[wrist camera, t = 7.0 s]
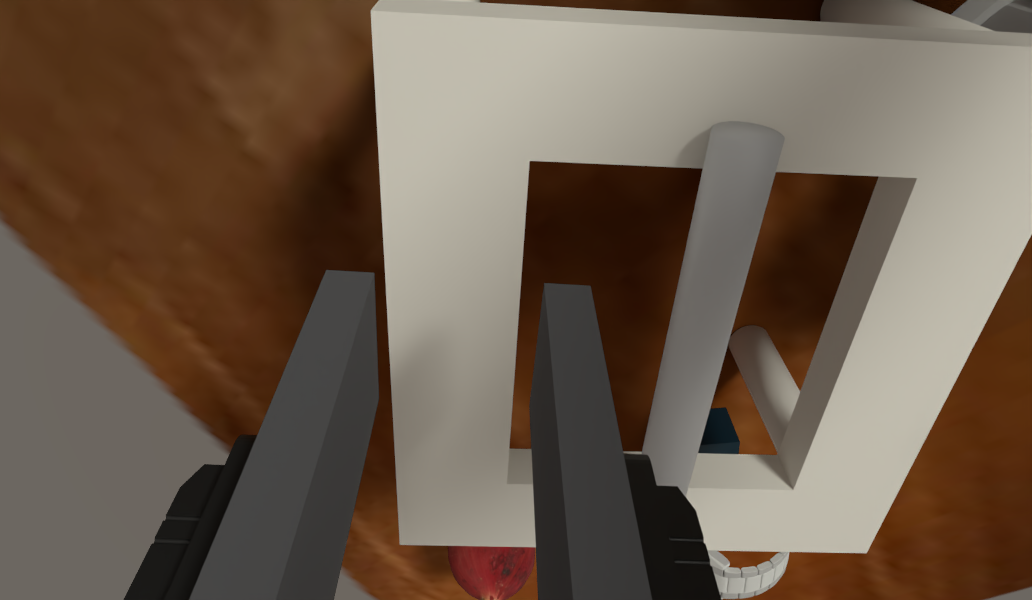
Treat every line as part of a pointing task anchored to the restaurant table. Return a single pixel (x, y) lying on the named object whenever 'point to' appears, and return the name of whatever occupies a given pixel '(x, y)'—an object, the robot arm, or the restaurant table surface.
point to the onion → (491, 569)
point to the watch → (729, 580)
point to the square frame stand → (697, 240)
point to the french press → (998, 14)
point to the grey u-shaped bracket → (345, 438)
